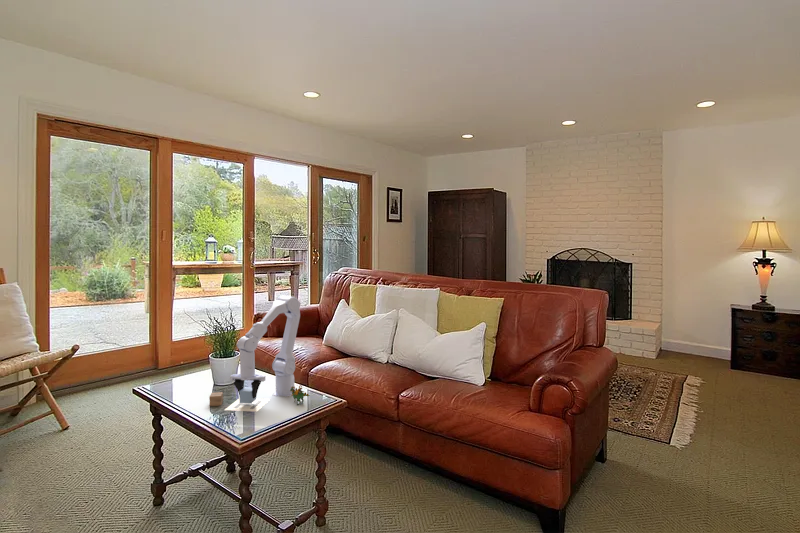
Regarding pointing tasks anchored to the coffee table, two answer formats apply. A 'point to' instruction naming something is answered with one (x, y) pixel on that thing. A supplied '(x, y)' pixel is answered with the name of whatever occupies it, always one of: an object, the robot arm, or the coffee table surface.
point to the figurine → (298, 394)
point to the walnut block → (216, 399)
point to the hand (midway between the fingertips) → (248, 397)
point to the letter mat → (248, 405)
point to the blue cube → (246, 395)
